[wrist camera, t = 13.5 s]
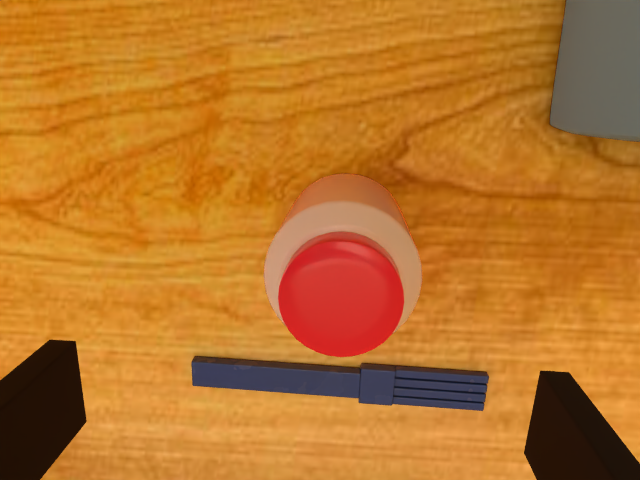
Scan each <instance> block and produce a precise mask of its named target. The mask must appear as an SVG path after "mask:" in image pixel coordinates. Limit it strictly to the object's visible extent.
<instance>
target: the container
mask: <svg viewBox="0 0 640 480" xmlns="http://www.w3.org/2000/svg"><path fill="white" fill-rule="evenodd" d="M550 125H552V126H553V127H555V128H558V129H561V130H563V131H566V132H569V133H573V134H579V135H586V136H593V137H600V138H608V139H617V140H626V141H636V142H640V0H566V7H565V14H564V21H563V27H562V34H561V41H560V48H559V55H558V61H557V68H556V75H555V82H554V89H553V97H552V105H551V113H550Z"/></svg>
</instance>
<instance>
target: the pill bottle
mask: <svg viewBox="0 0 640 480" xmlns="http://www.w3.org/2000/svg"><path fill="white" fill-rule="evenodd" d="M264 282H265V289H266V293H267V296H268V299H269V302H270V304H271V306H272V308H273V310H274V311H275V313H276V315H277V316H278V318H279V319H280V320H281V321H282V322H283V323H284V325H285V326H286V327H287V328H288V330H289V331H290V332H291V334H292V335H293V336H294V337H295V338H296V339H297V340H298V341H299V342H301V343H302V344H303V345H305V346H306V347H308V348H310V349H312V350H314V351H316V352H318V353H322V354H325V355H328V356H337V357H347V356H355V355H359V354H363V353H366V352H368V351H370V350H373V349H375V348H376V347H378V346H379V345H381V344H382V343H384V342H385V341H386V340H387V339H388V338H389V337H390V336H391V335H392V334H393V333H394V332H396V331H397V330H398V329H399V328H400V327H401V326H402V325H403V324H404V323H405V322H406V321H407V319H408V318H409V316H410V314H411V313H412V311H413V310H414V308H415V305H416V303H417V300H418V298H419V295H420V291H421V285H422V265H421V261H420V257H419V253H418V250H417V247H416V245H415V242H414V240H413V237H412V235H411V233H410V230H409V228H408V225H407V223H406V220H405V218H404V216H403V213H402V211H401V209H400V207H399V205H398V203H397V201H396V200H395V198H394V197H393V196H392V195H391V193H390V192H389V191H388V190H387V189H385V188H384V187H383V186H382V185H381V184H379V183H377V182H376V181H374V180H372V179H370V178H367V177H364V176H361V175H357V174H347V173H345V174H334V175H330V176H327V177H324V178H321V179H319V180H317V181H316V182H314V183H312V184H311V185H309V186H308V187H307V188H306V189H304V190H303V191H302V192H301V194H300V195H299V196H298V197H297V199H296V200H295V201H294V203H293V205H292V207H291V208H290V210H289V212H288V214H287V215H286V217H285V219H284V221H283V222H282V224H281V226H280V228H279V229H278V231H277V233H276V235H275V236H274V238H273V240H272V242H271V244H270V246H269V248H268V252H267V255H266V259H265V264H264Z"/></svg>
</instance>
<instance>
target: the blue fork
mask: <svg viewBox="0 0 640 480" xmlns="http://www.w3.org/2000/svg"><path fill="white" fill-rule="evenodd" d="M488 379H489V376H488V374H487V372H477V371H463V370H449V369H435V368H421V367H407V366H391V365H377V364H363V363H362V364H361V369H360V368H351V367H337V366H323V365H309V364H295V363H282V362H268V361H254V360H240V359H226V358H212V357H198V356H195V357H194V359H193V360H192V383H193V386H203V387H216V388H230V389H243V390H256V391H270V392H283V393H296V394H309V395H323V396H336V397H349V398H359V403H366V404H379V405H392V404H400V405H413V406H426V407H439V408H453V409H466V410H479V411H483V410H484V402H485V397H486V394H485V393H486V391H487V383H488Z"/></svg>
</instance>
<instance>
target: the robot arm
mask: <svg viewBox="0 0 640 480" xmlns="http://www.w3.org/2000/svg"><path fill="white" fill-rule="evenodd" d="M85 423H86V414H85V407H84V400H83V392H82V385H81V377H80V370H79V363H78V355H77V348H76V341H62V340H49V341H48V342H46V343H45V344H44V345H43V346H42V347H40V348H39V349H38V350H37V351H36V352H34V353H33V354H32V355H31V356H29V357H28V358H27V359H26V360H25V361H23V362H22V363H21V364H20V365H19V366H17V367H16V368H15V369H14V370H13V371H11V372H10V373H9V374H8V375H6V376H5V377H4V378H3V379H2V380H0V480H40V479H41V478H42V476H43V475H44V474H45V473H46V472H47V470H48V469H49V468H50V467H51V465H52V464H53V463H54V462H55V460H56V459H57V458H58V457H59V455H60V454H61V453H62V452H63V450H64V449H65V448H66V447H67V445H68V444H69V443H70V442H71V440H72V439H73V438H74V437H75V435H76V434H77V433H78V432H79V430H80V429H81V428H82V427H83V425H84V424H85ZM524 454H525V456H526V458H527V460H528V462H529V464H530V466H531V468H532V471H533V473H534V475H535V477H536V479H537V480H640V464H639V462H638V461H637V460H636V458H635V457H634V456H633V455H632V453H631V452H630V451H629V449H628V448H627V447H626V445H625V444H624V443H623V442H622V440H621V439H620V438H619V436H618V435H617V434H616V433H615V431H614V430H613V429H612V427H611V426H610V425H609V424H608V422H607V421H606V420H605V418H604V417H603V416H602V414H601V413H600V412H599V411H598V409H597V408H596V407H595V405H594V404H593V403H592V402H591V400H590V399H589V398H588V396H587V395H586V394H585V393H584V391H583V390H582V389H581V387H580V386H579V385H578V384H577V382H576V381H575V380H574V378H573V377H572V376H571V374H570V373H569V372H555V371H540V375H539V380H538V385H537V390H536V395H535V400H534V405H533V410H532V415H531V420H530V425H529V430H528V435H527V440H526V446H525V451H524Z"/></svg>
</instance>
